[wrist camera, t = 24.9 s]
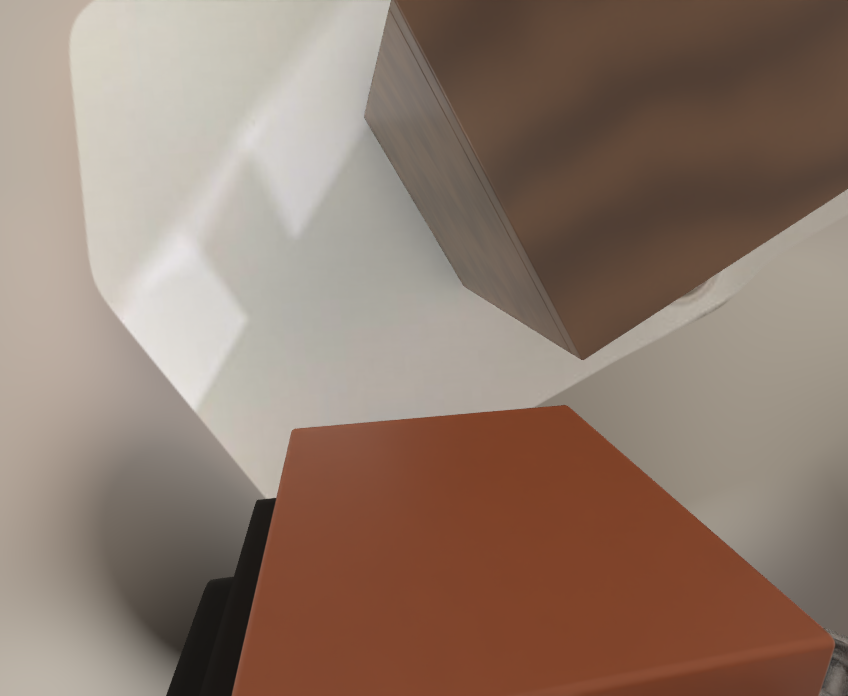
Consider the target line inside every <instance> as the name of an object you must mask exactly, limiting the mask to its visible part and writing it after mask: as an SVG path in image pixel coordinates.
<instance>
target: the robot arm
mask: <svg viewBox="0 0 848 696" xmlns="http://www.w3.org/2000/svg"><path fill="white" fill-rule="evenodd" d="M275 502H276V498H271V499H263V500H257V501H256V504H255V507H254V510H253V514H252V517H251V520H250V524H249V527H248V531H247V534H246V537H245V541H244V545H243V548H242V551H241V555H240V558H239V561H238V565H237V568H236V572H235V575H234V577H228V578H220V579H213V580H210V581H209V582H208V584H207V586H206V588H205V590H204V593H203V595H202V598H201V601H200V604H199V606H198V609H197V612H196V615H195V618H194V620H193V623H192V626H191V629H190V631H189V634H188V637H187V640H186V642H185V645H184V648H183V651H182V654H181V656H180V659H179V662H178V665H177V667H176V670H175V673H174V676H173V678H172V681H171V684H170V687H169V690H168V692H167V695H166V696H232V692H233V687H234V683H235V679H236V674H237V670H238V665H239V661H240V657H241V652H242V648H243V643H244V639H245V635H246V630H247V626H248V621H249V617H250V612H251V608H252V604H253V599H254V595H255V590H256V586H257V582H258V577H259V573H260V568H261V564H262V560H263V555H264V551H265V546H266V542H267V537H268V533H269V529H270V524H271V520H272V515H273V511H274V507H275ZM823 629H825V630H826V631H827V632H828V633H829V634H830V635H831V636H832V637H833V639H834V641H835V648H834V651H833V654H832V657H831V660H830V663H829V666H828V669H827V673H826V676H825V679H824V682H823V685H822V688H821V691H820V694H819V696H848V637H847V636H844V635H842V634H839V633H837V632H834V631H832V630H829V629H826V628H823Z"/></svg>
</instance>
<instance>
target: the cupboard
mask: <svg viewBox="0 0 848 696" xmlns="http://www.w3.org/2000/svg"><path fill="white" fill-rule="evenodd" d="M364 118H365V120H366V121H367V123H368V125H369V126H370V128H371V130H372V131H373V133H374V135H375V136H376V138H377V140H378V142H379V143H380V145H381V147H382V148H383V150H384V152H385V153H386V155H387V157H388V159H389V160H390V162H391V164H392V165H393V167H394V169H395V170H396V172H397V174H398V175H399V177H400V179H401V181H402V182H403V184H404V186H405V187H406V189H407V191H408V192H409V194H410V196H411V197H412V199H413V201H414V203H415V204H416V206H417V208H418V209H419V211H420V213H421V214H422V216H423V218H424V219H425V221H426V223H427V225H428V226H429V228H430V230H431V231H432V233H433V235H434V236H435V238H436V240H437V241H438V243H439V245H440V247H441V248H442V250H443V252H444V253H445V255H446V257H447V258H448V260H449V262H450V264H451V265H452V267H453V269H454V270H455V272H456V274H457V275H458V277H459V279H460V280H461V282H462V284H463V286H465V287H466V288H468V289H469V290H471V291H473V292H474V293H476V294H477V295H479V296H480V297H482V298H484V299H485V300H487V301H488V302H490V303H492V304H493V305H495V306H496V307H498V308H500V309H501V310H503V311H504V312H506V313H508V314H509V315H511V316H512V317H514V318H515V319H517V320H519V321H520V322H522V323H523V324H525V325H527V326H528V327H530V328H531V329H533V330H535V331H536V332H538V333H539V334H541V335H543V336H544V337H546V338H547V339H549V340H550V341H552V342H554V343H555V344H557V345H558V346H560V347H562V348H563V349H565V350H566V351H568V352H570V353H571V354H573V355H575V356H576V357H578V358H580V359H581V360H584V359H586V358H587V357H589V356H590V355H592V354H593V353H595V352H597V351H598V350H600V349H601V348H603V347H604V346H606V345H607V344H609V343H610V342H612V341H614V340H615V339H617V338H618V337H620V336H621V335H623V334H624V333H626V332H627V331H629V330H631V329H632V328H634V327H635V326H637V325H638V324H640V323H641V322H643V321H644V320H646V319H648V318H649V317H651V316H652V315H654V314H655V313H657V312H658V311H660V310H661V309H663V308H665V307H666V306H668V305H669V304H671V303H672V302H674V301H675V300H677V299H678V298H680V297H682V296H683V295H685V294H686V293H688V292H689V291H691V290H692V289H694V288H695V287H697V286H699V285H700V284H702V283H703V282H705V281H706V280H708V279H709V278H711V277H712V276H714V275H716V274H717V273H719V272H720V271H722V270H723V269H725V268H726V267H728V266H729V265H731V264H733V263H734V262H736V261H737V260H739V259H740V258H742V257H743V256H745V255H746V254H748V253H750V252H751V251H753V250H754V249H756V248H757V247H759V246H760V245H762V244H763V243H765V242H767V241H768V240H770V239H771V238H773V237H774V236H776V235H777V234H779V233H780V232H782V231H784V230H785V229H787V228H788V227H790V226H791V225H793V224H794V223H796V222H797V221H799V220H801V219H802V218H804V217H805V216H807V215H808V214H810V213H811V212H813V211H814V210H816V209H818V208H819V207H821V206H822V205H824V204H825V203H827V202H828V201H830V200H831V199H833V198H835V197H836V196H838V195H839V194H841V193H842V192H844V191H845V190H847V189H848V0H391V3H390V8H389V11H388V15H387V19H386V24H385V28H384V32H383V37H382V41H381V45H380V50H379V54H378V58H377V63H376V67H375V71H374V76H373V80H372V84H371V89H370V93H369V97H368V102H367V106H366V110H365V115H364Z"/></svg>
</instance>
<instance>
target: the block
mask: <svg viewBox="0 0 848 696" xmlns="http://www.w3.org/2000/svg"><path fill="white" fill-rule="evenodd" d="M834 648H835V641H834V639H833V637H832V636H831V635H830V634H829V633H828V632H827V631H826V630H825V629H823V628H822V627H821V626H820V625H819V624H818V623H816V622H815V621H814V620H813V619H812V618H811V617H810V616H808V615H807V614H806V613H805V612H804V611H803V610H802V609H800V608H799V607H798V606H797V605H796V604H795V603H793V602H792V601H791V600H790V599H789V598H788V597H787V596H786V595H784V594H783V593H782V592H781V591H780V590H779V589H777V588H776V587H775V586H774V585H773V584H772V583H771V582H769V581H768V580H767V579H766V578H765V577H764V576H763V575H761V574H760V573H759V572H758V571H757V570H756V569H754V568H753V567H752V566H751V565H750V564H749V563H748V562H747V561H745V560H744V559H743V558H742V557H741V556H739V555H738V554H737V553H736V552H735V551H734V550H733V549H732V548H730V547H729V546H728V545H727V544H726V543H725V542H723V541H722V540H721V539H720V538H719V537H718V536H717V535H715V534H714V533H713V532H712V531H711V530H710V529H709V528H707V527H706V526H705V525H704V524H703V523H702V522H701V521H699V520H698V519H697V518H696V517H695V516H693V514H691V513H690V512H689V511H688V510H687V509H686V508H684V507H683V506H682V505H681V504H680V503H679V502H678V501H676V500H675V499H674V498H673V497H672V496H671V495H670V494H668V493H667V492H666V491H665V490H664V489H663V488H661V487H660V486H659V485H658V484H657V483H656V482H655V481H653V480H652V479H651V478H650V477H649V476H648V475H647V474H645V473H644V472H643V471H642V470H641V469H640V468H639V467H637V466H636V465H635V464H634V463H633V462H632V461H630V460H629V459H628V458H627V457H626V456H625V455H623V454H622V453H621V452H620V451H619V450H618V449H617V448H615V447H614V446H613V445H612V444H611V443H610V442H608V441H607V440H606V439H605V438H604V437H603V436H602V435H601V434H599V433H598V432H597V431H596V430H595V429H594V428H593V427H591V426H590V425H589V424H588V423H587V422H586V421H584V420H583V419H582V418H581V417H580V416H579V415H578V414H576V413H575V412H574V411H573V410H572V409H571V408H569V407H568V406H566V405H561V406H550V407H538V408H526V409H515V410H504V411H492V412H481V413H469V414H458V415H447V416H435V417H424V418H412V419H401V420H390V421H378V422H367V423H356V424H344V425H333V426H321V427H310V428H299V429H294V430H292V432H291V436H290V440H289V445H288V449H287V454H286V458H285V462H284V467H283V471H282V476H281V480H280V485H279V489H278V493H277V498H276V502H275V507H274V511H273V515H272V520H271V524H270V529H269V533H268V537H267V542H266V546H265V551H264V555H263V560H262V564H261V568H260V573H259V577H258V582H257V586H256V590H255V595H254V599H253V604H252V608H251V612H250V617H249V621H248V626H247V630H246V635H245V639H244V643H243V648H242V652H241V657H240V661H239V665H238V670H237V674H236V679H235V683H234V687H233V692H232V696H819V694H820V691H821V688H822V685H823V682H824V679H825V676H826V673H827V669H828V666H829V663H830V660H831V657H832V654H833V651H834Z"/></svg>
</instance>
